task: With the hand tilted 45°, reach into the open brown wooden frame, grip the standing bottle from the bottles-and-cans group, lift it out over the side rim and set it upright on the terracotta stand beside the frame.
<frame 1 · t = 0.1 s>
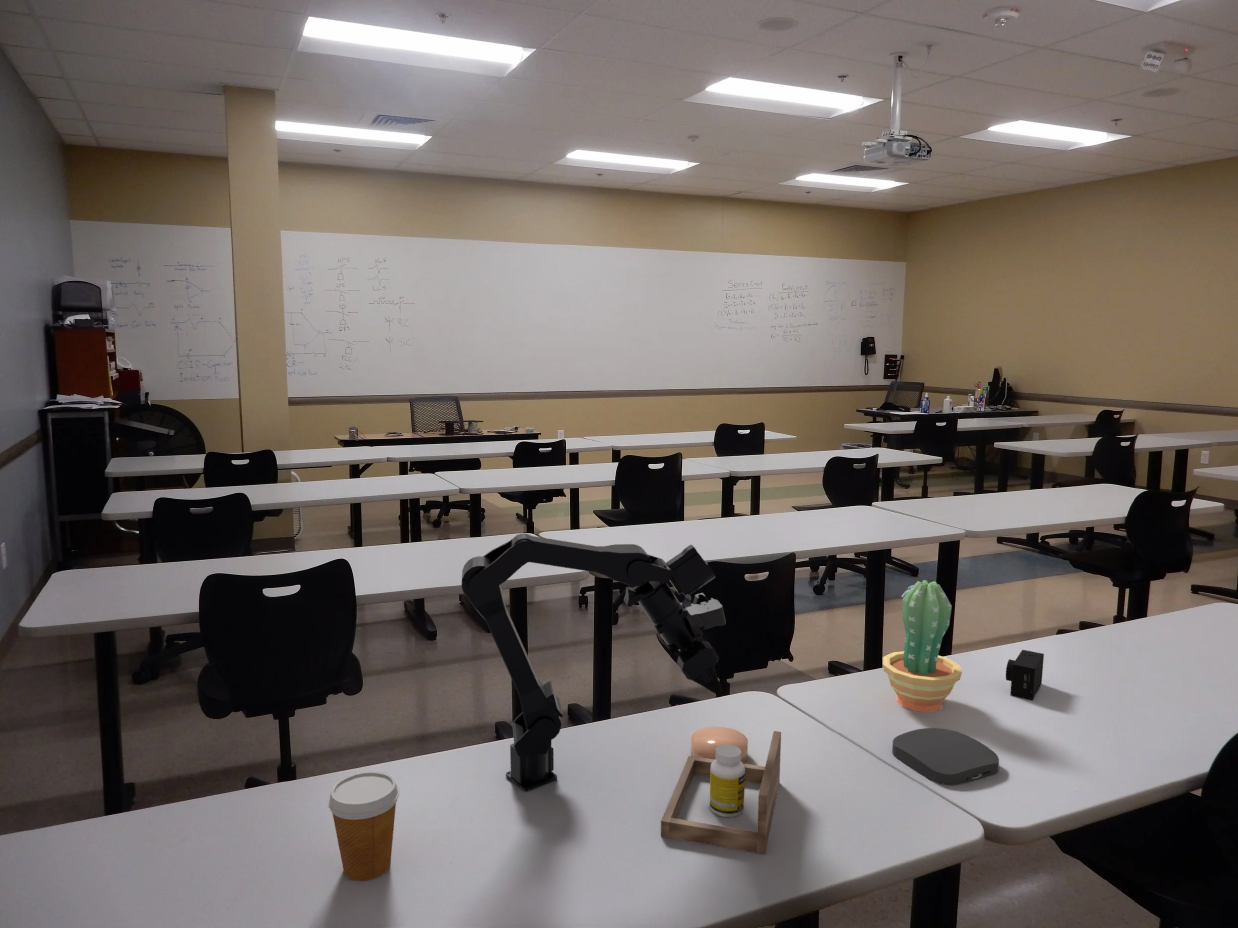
hand: (712, 681, 144), 15 cm above the table, tool tilted 35°, fingers open, 9 cm apart
brown wooden frame: (726, 808, 132), on the table
terracotta stand: (719, 755, 149), on the table
disposable coffee cup: (367, 868, 117), on the table
digital camera: (1022, 690, 177), on the table
supplement bottle: (726, 809, 132), resting in brown wooden frame
potted cactus: (919, 702, 171), on the table
media streaming box: (943, 762, 147), on the table
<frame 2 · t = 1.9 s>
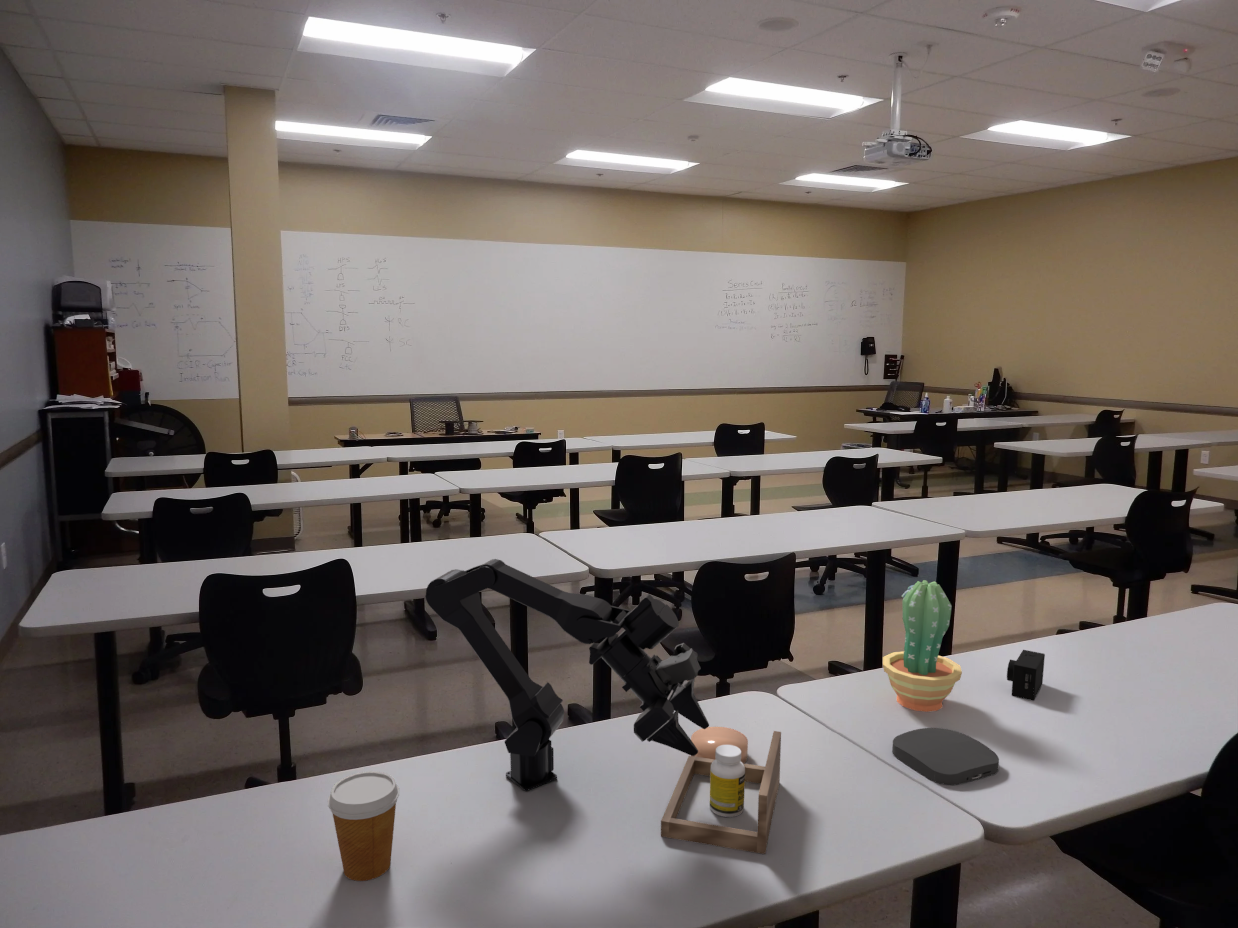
hand: (701, 740, 131), 11 cm above the table, tool tilted 45°, fingers open, 9 cm apart
nothing on the table moved.
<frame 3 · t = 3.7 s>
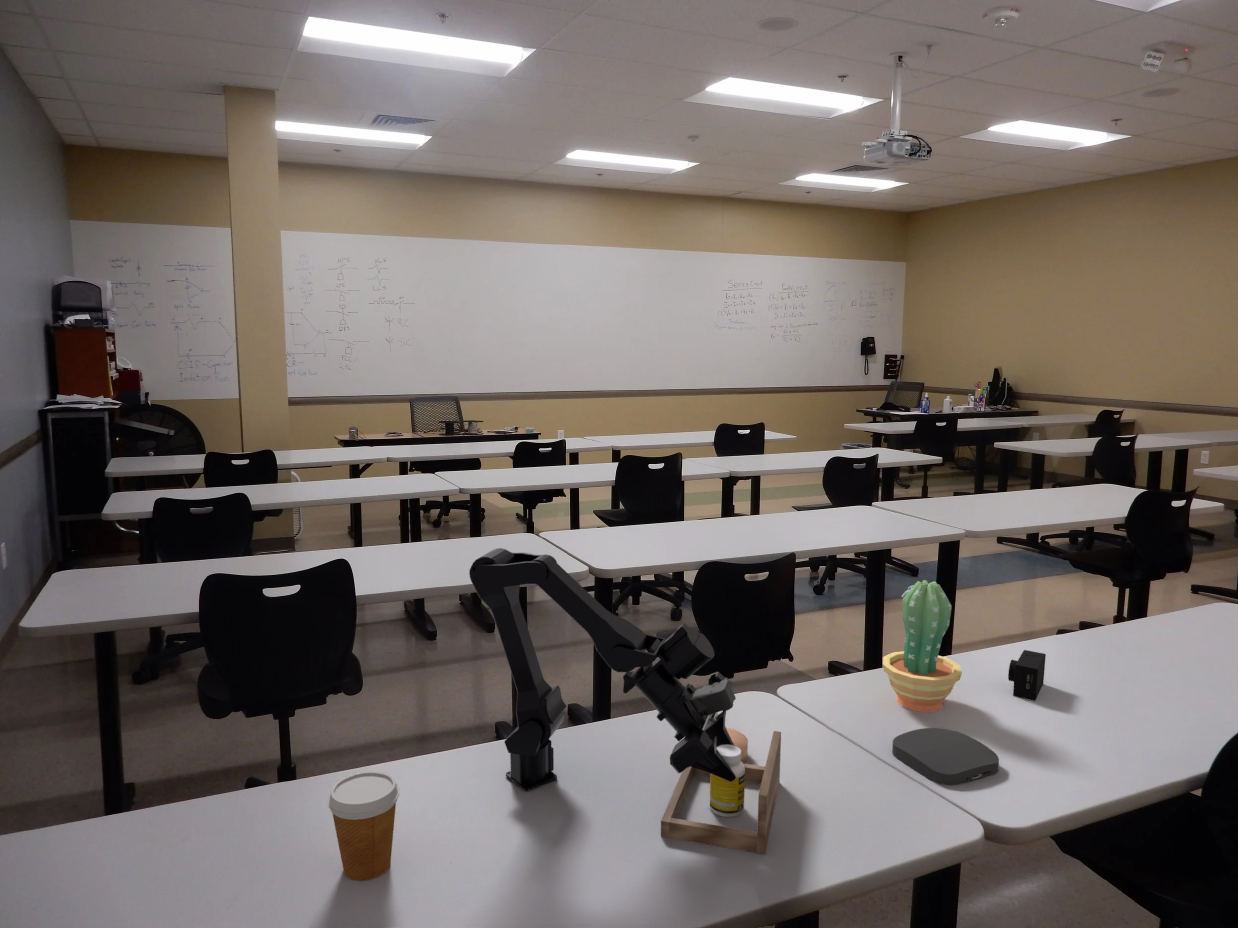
hand: (736, 770, 131), 7 cm above the table, tool tilted 45°, fingers closed on supplement bottle, 5 cm apart
supplement bottle: (726, 809, 132), resting in brown wooden frame, touching gripper
everything else where it was.
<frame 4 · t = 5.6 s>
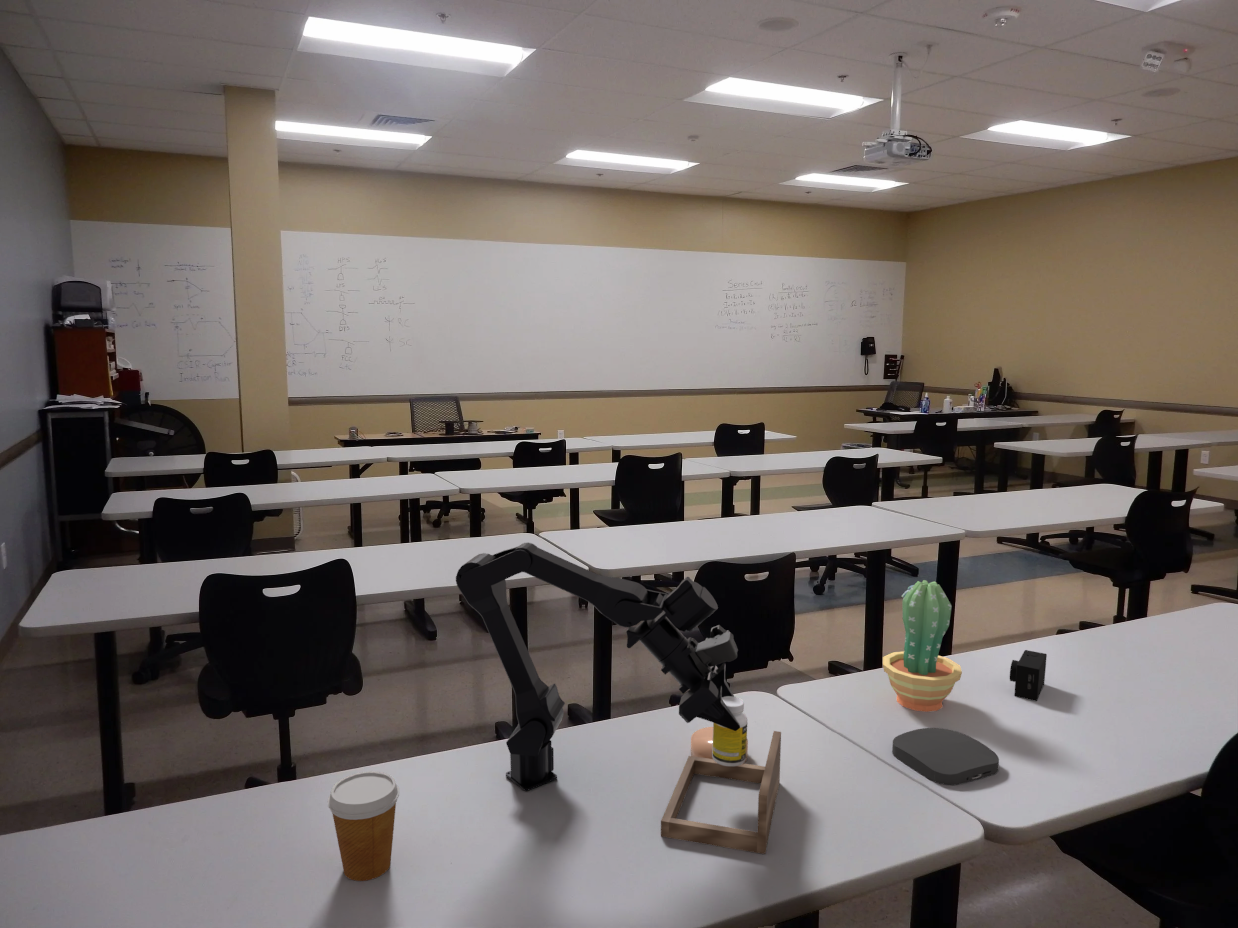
hand: (739, 720, 133), 13 cm above the table, tool tilted 45°, fingers closed on supplement bottle, 5 cm apart
supplement bottle: (728, 760, 134), point 6 cm above the table, touching gripper
everything else where it was.
when the fingers open (11 cm above the table, at t = 7.5 s): supplement bottle drops 1 cm, resting on terracotta stand.
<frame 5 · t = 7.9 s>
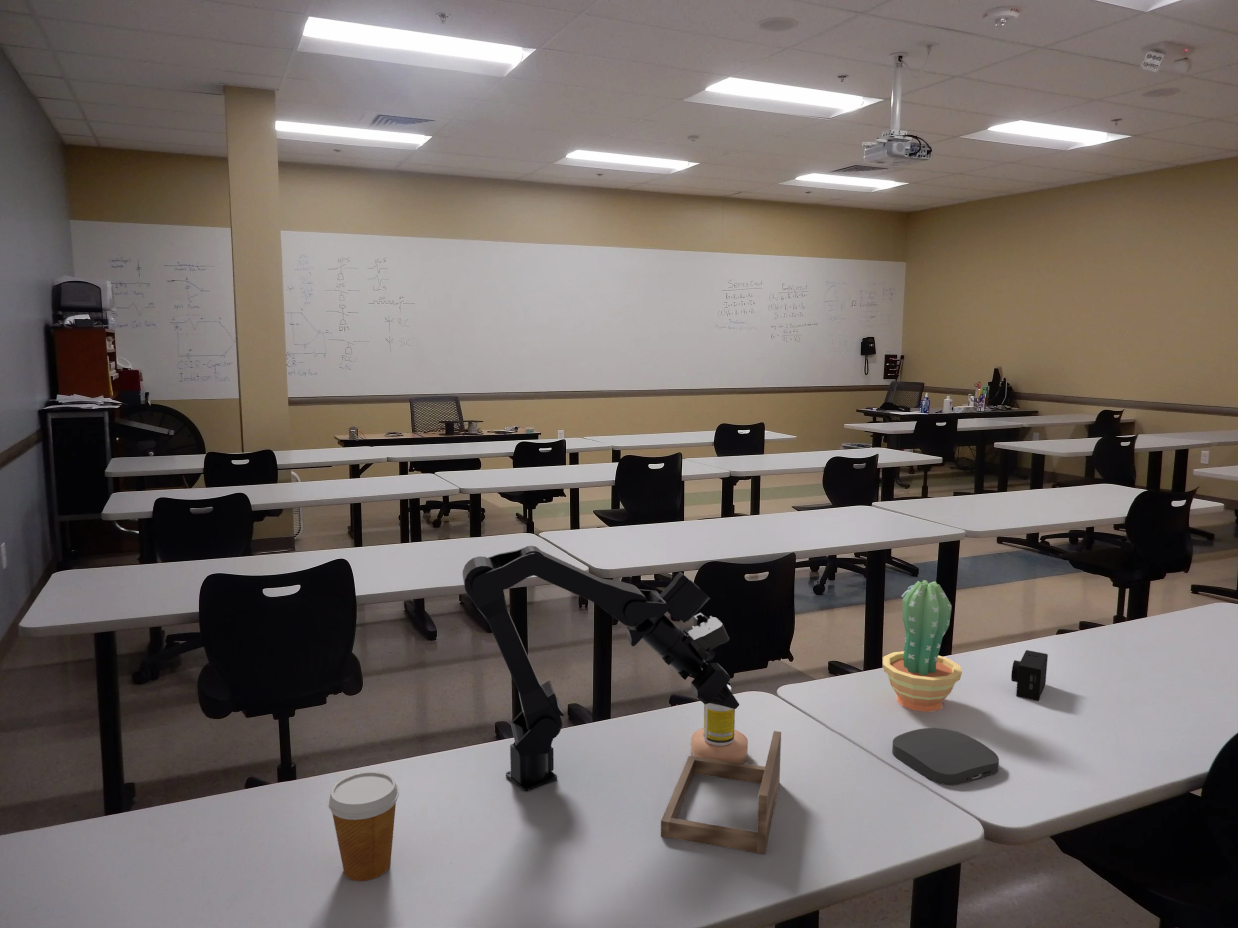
hand: (727, 695, 147), 11 cm above the table, tool tilted 45°, fingers open, 9 cm apart
supplement bottle: (718, 740, 148), point 3 cm above the table, touching terracotta stand
everything else where it was.
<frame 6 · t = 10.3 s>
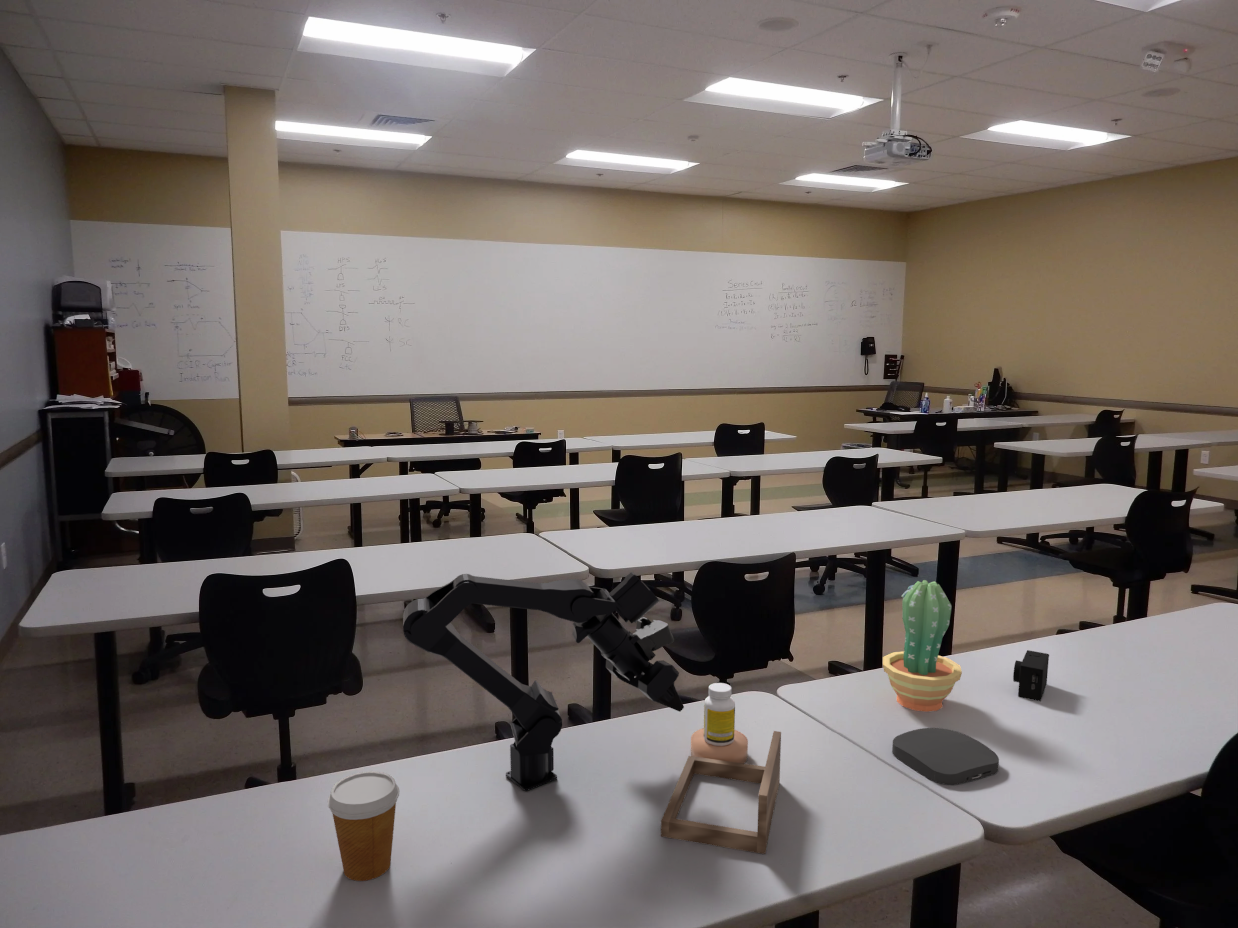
hand: (669, 701, 145), 11 cm above the table, tool tilted 40°, fingers open, 9 cm apart
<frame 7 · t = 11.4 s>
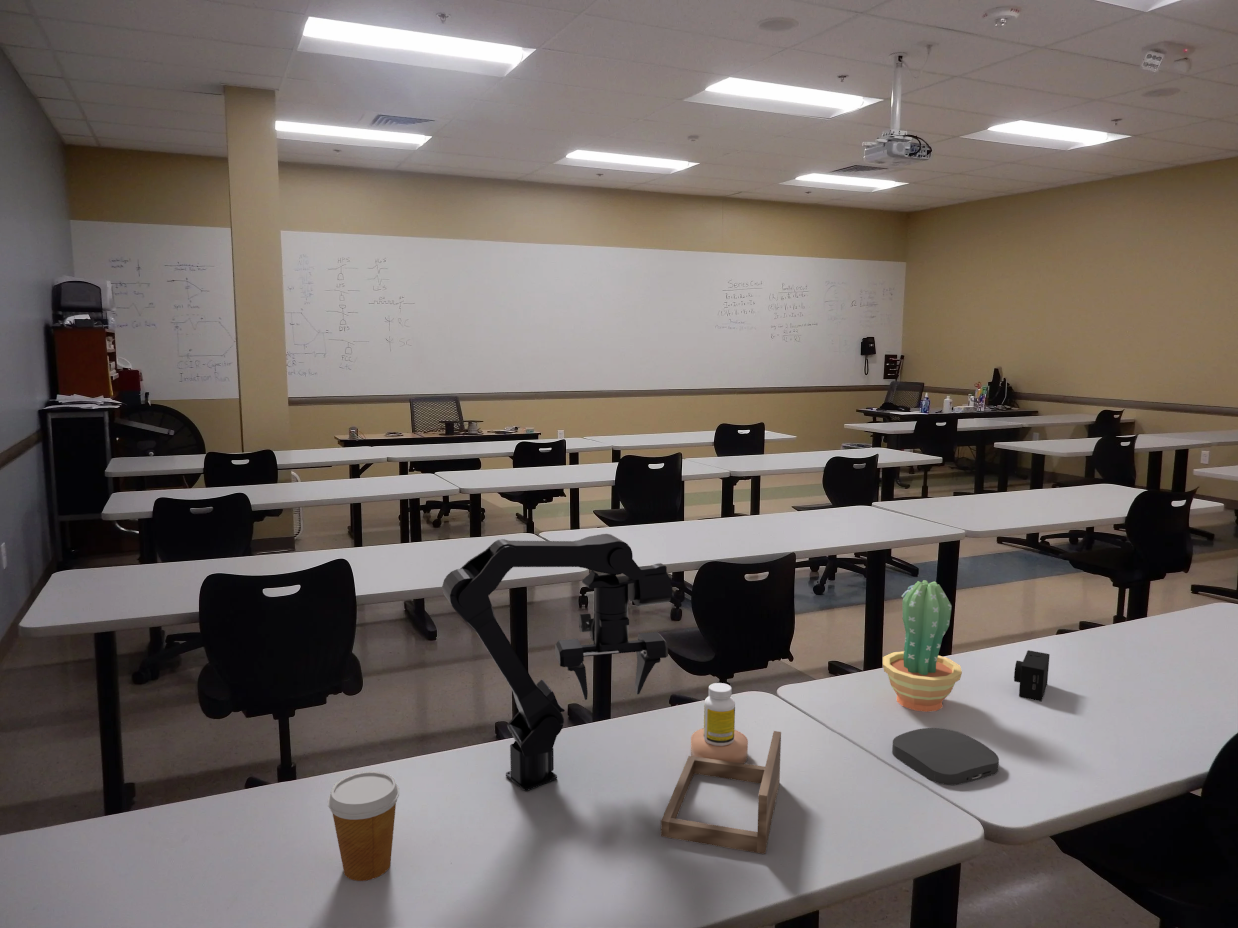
hand: (611, 696, 145), 12 cm above the table, tool pointing down, fingers open, 9 cm apart
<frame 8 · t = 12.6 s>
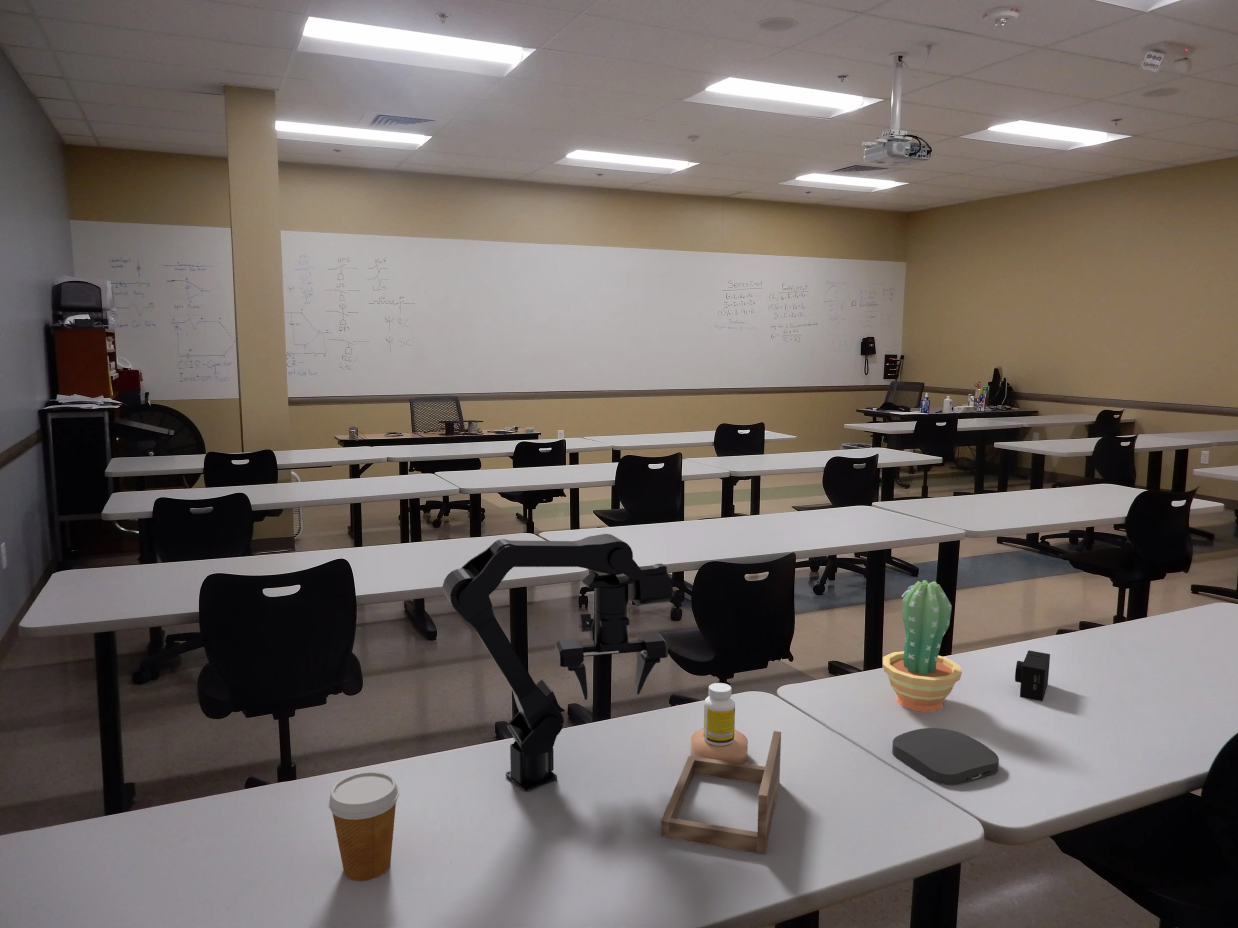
hand: (611, 696, 145), 12 cm above the table, tool pointing down, fingers open, 9 cm apart
at the end: supplement bottle 0.1 cm off-centre on the terracotta stand, point 2.8 cm above the terracotta stand's base; supplement bottle tilted 0°; the gripper is holding nothing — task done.
